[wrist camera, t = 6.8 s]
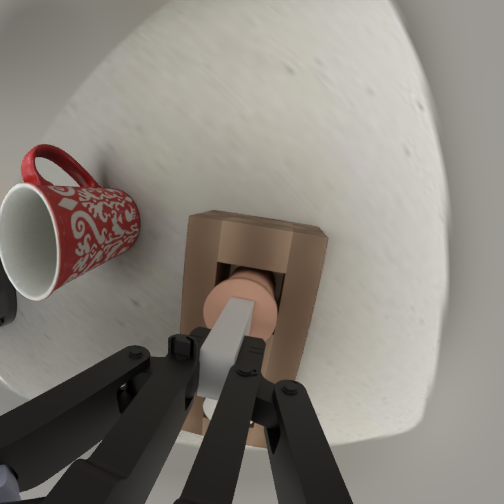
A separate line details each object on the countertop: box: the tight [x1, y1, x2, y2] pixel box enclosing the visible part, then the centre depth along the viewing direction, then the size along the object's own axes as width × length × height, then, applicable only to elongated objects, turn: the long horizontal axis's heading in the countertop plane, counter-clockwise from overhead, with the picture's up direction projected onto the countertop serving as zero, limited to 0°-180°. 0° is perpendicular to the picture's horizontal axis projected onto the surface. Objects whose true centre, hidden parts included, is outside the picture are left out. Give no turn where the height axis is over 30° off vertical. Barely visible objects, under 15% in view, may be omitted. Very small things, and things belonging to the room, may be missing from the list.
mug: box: [0, 144, 140, 301], centre depth 22 cm, size 13×9×14 cm
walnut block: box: [180, 210, 328, 448], centre depth 26 cm, size 10×22×7 cm, turn 172°
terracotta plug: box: [203, 266, 278, 341], centre depth 21 cm, size 5×5×7 cm
